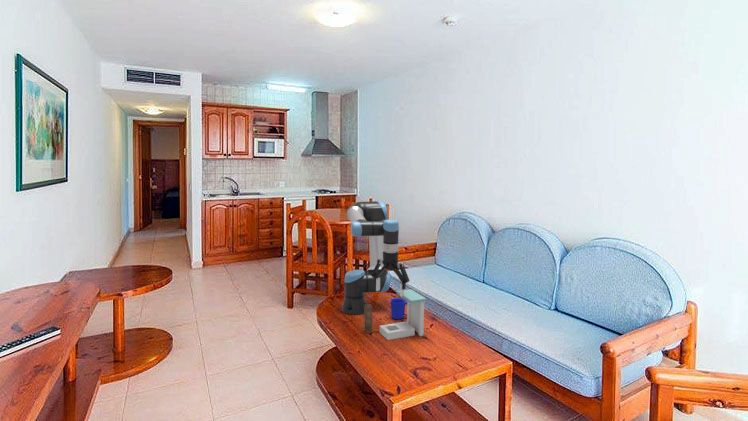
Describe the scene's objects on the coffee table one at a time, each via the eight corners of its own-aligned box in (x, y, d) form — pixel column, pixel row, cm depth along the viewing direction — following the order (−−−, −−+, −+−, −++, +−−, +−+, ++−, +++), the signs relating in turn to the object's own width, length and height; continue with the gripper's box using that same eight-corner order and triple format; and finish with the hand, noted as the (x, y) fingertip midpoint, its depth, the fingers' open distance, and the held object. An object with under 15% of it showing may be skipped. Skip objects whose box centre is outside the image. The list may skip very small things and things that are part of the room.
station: (377, 330, 207) (377, 293, 205) (410, 324, 215) (410, 289, 213) (390, 342, 193) (390, 303, 190) (425, 336, 200) (426, 298, 198)
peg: (363, 330, 206) (363, 304, 205) (370, 329, 208) (370, 303, 206) (366, 333, 203) (366, 307, 201) (373, 332, 204) (373, 306, 203)
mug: (410, 321, 219) (411, 304, 218) (389, 319, 221) (389, 302, 220) (412, 316, 227) (412, 299, 226) (391, 314, 229) (391, 297, 228)
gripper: (365, 249, 199) (364, 290, 202) (410, 256, 186) (408, 300, 189) (372, 246, 205) (372, 286, 208) (416, 253, 193) (415, 295, 196)
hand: (389, 293), depth 199 cm, fingers open, 13 cm apart
